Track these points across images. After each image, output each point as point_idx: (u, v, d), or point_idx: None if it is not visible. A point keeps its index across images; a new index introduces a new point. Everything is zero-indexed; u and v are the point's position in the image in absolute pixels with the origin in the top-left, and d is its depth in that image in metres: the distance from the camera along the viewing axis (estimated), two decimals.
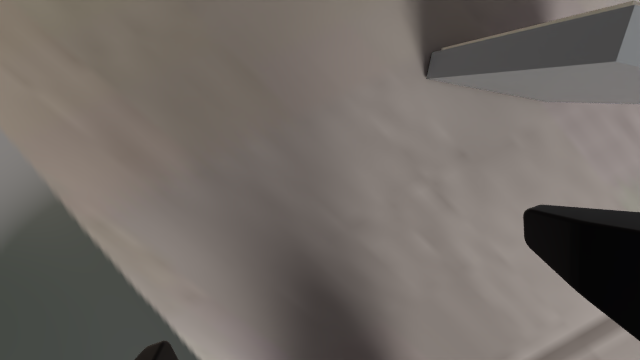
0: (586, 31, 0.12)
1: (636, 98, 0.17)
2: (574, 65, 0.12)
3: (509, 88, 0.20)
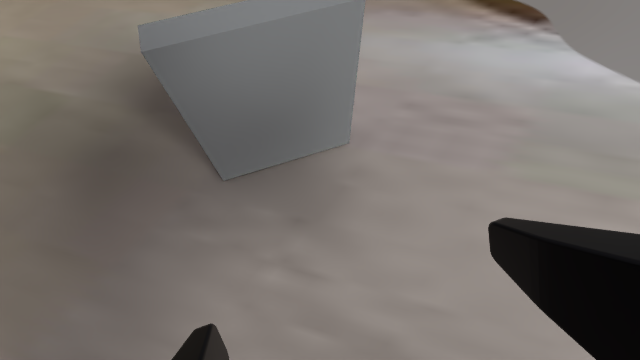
0: None
1: (322, 82, 0.19)
2: (159, 77, 0.15)
3: (272, 144, 0.22)
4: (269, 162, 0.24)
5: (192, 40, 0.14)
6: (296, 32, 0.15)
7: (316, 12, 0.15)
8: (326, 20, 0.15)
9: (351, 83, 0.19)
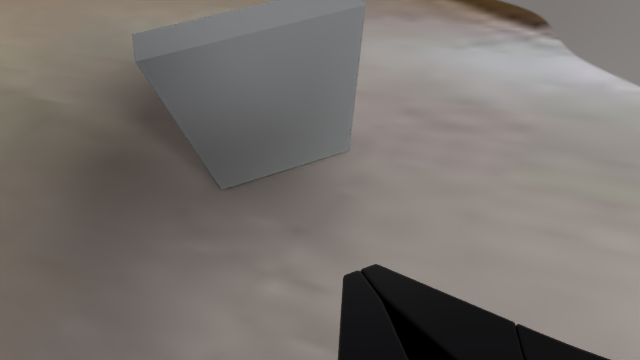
0: None
1: (321, 90, 0.18)
2: (154, 87, 0.14)
3: (271, 153, 0.22)
4: (268, 170, 0.24)
5: (188, 49, 0.13)
6: (295, 40, 0.15)
7: (315, 19, 0.14)
8: (325, 28, 0.15)
9: (351, 90, 0.19)
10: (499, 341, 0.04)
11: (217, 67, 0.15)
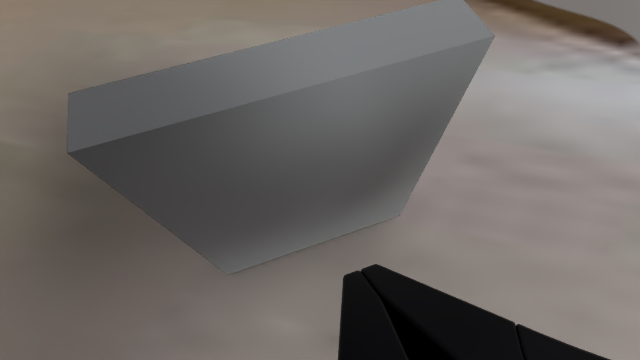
0: None
1: (385, 158, 0.12)
2: (112, 184, 0.08)
3: (298, 232, 0.15)
4: (292, 249, 0.17)
5: (173, 124, 0.07)
6: (364, 97, 0.08)
7: (406, 63, 0.08)
8: (419, 76, 0.08)
9: (426, 154, 0.13)
10: (499, 341, 0.04)
11: (227, 146, 0.08)
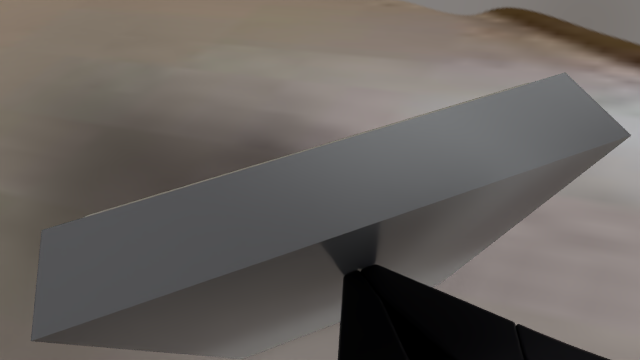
0: None
1: (445, 253, 0.09)
2: (102, 344, 0.06)
3: (328, 318, 0.13)
4: (318, 329, 0.15)
5: (188, 287, 0.05)
6: (446, 215, 0.06)
7: (512, 178, 0.06)
8: (520, 185, 0.06)
9: (491, 241, 0.10)
10: (499, 341, 0.04)
11: (259, 286, 0.06)
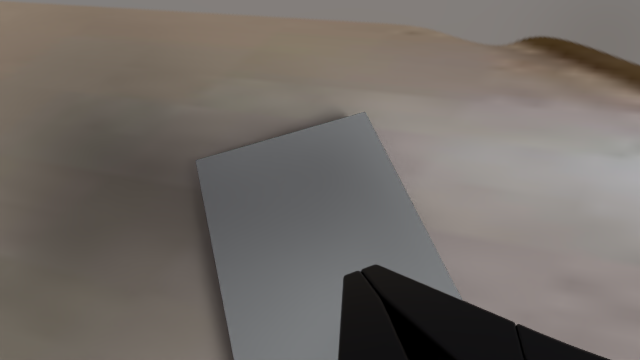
0: None
1: (361, 189, 0.17)
2: (201, 182, 0.17)
3: (323, 302, 0.14)
4: None
5: (234, 149, 0.18)
6: (315, 139, 0.18)
7: (327, 124, 0.19)
8: (339, 129, 0.19)
9: (399, 190, 0.17)
10: (499, 341, 0.04)
11: (253, 163, 0.18)
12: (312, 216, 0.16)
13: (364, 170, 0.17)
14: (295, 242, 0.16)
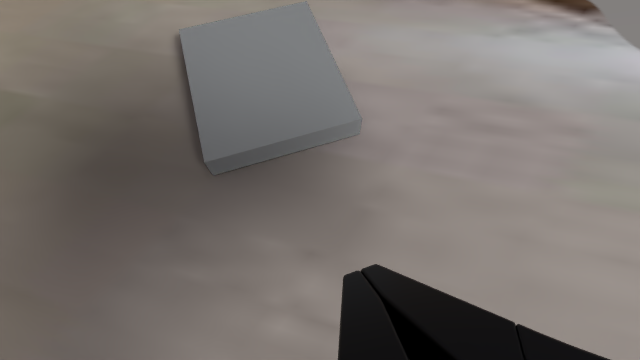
0: None
1: (297, 47, 0.23)
2: (182, 42, 0.24)
3: (262, 108, 0.21)
4: (261, 137, 0.20)
5: (207, 23, 0.25)
6: (267, 17, 0.25)
7: (277, 8, 0.25)
8: (285, 11, 0.25)
9: (324, 47, 0.23)
10: (499, 341, 0.04)
11: (221, 32, 0.24)
12: (260, 62, 0.23)
13: (300, 36, 0.24)
14: (246, 76, 0.22)
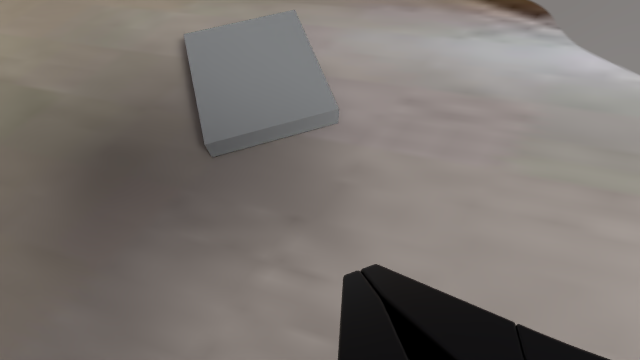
0: None
1: (285, 49, 0.27)
2: (186, 45, 0.27)
3: (254, 100, 0.25)
4: (253, 124, 0.24)
5: None
6: (260, 24, 0.29)
7: (269, 16, 0.29)
8: (276, 18, 0.29)
9: (308, 49, 0.27)
10: (499, 341, 0.04)
11: (220, 36, 0.28)
12: (253, 62, 0.26)
13: (288, 39, 0.28)
14: (241, 74, 0.26)
